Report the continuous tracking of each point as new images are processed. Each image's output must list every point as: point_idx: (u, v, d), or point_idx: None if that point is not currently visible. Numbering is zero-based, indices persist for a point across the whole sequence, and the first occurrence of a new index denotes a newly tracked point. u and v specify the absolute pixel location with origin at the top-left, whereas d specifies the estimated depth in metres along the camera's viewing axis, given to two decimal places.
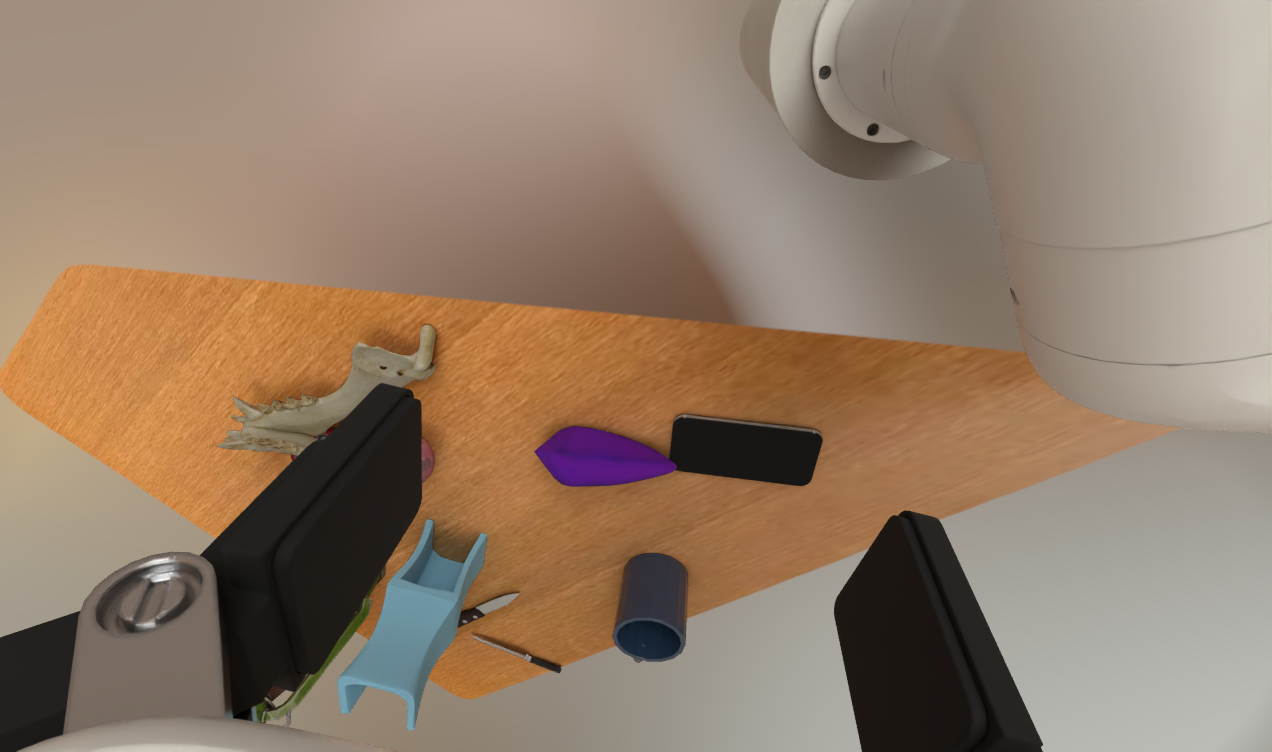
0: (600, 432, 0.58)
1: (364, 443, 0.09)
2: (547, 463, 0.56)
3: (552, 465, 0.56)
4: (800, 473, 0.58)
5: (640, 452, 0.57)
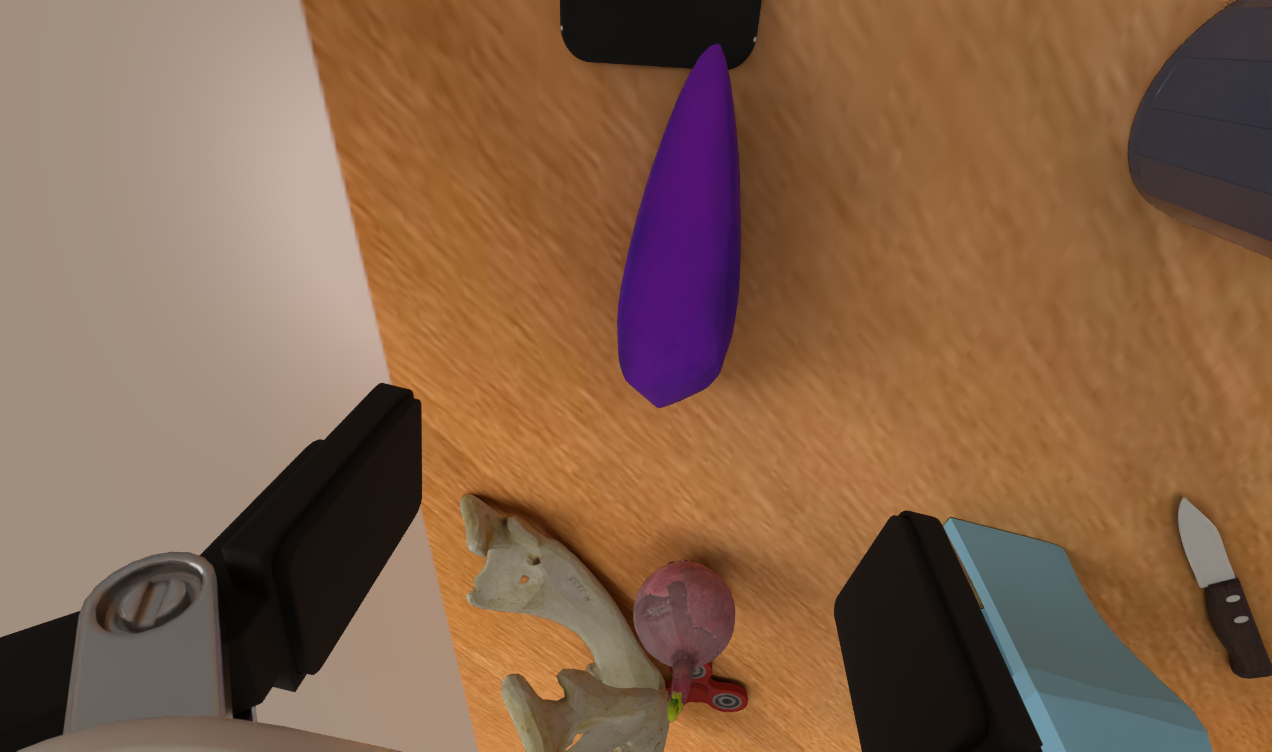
0: None
1: (364, 443, 0.09)
2: (663, 394, 0.24)
3: (663, 387, 0.24)
4: None
5: None
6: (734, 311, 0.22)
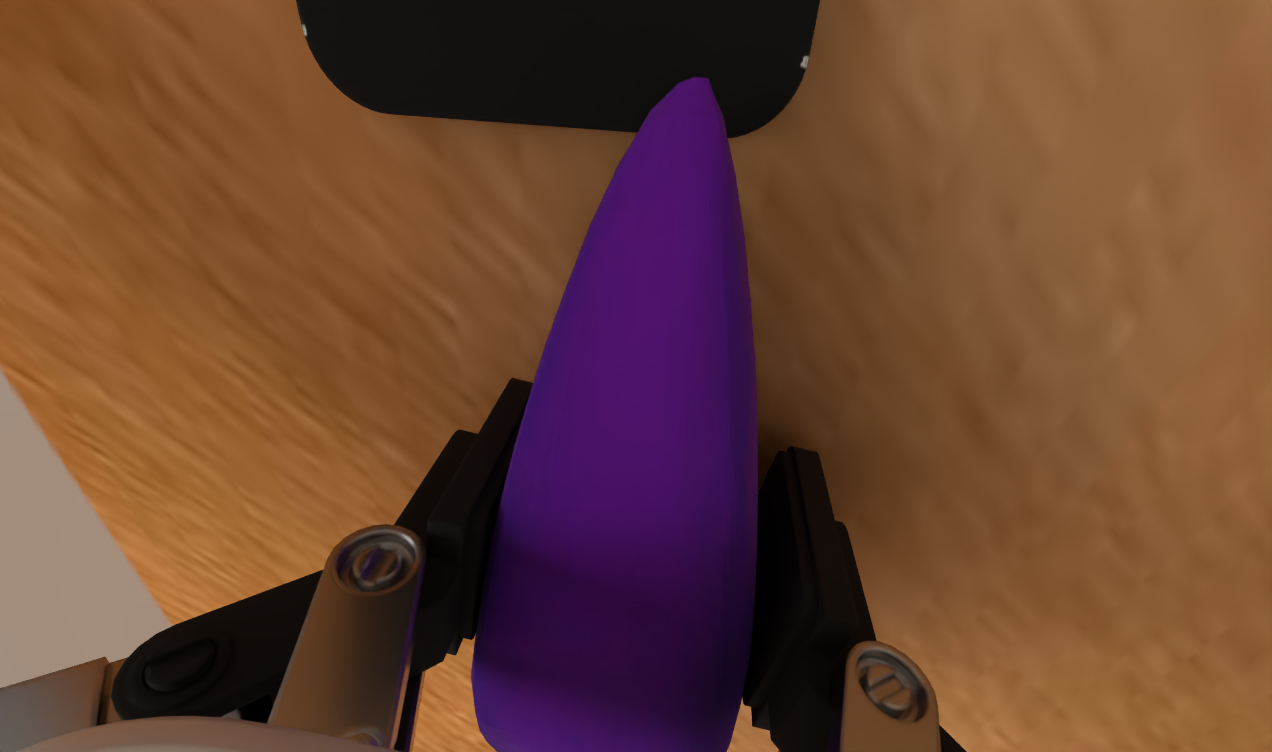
0: None
1: (514, 432, 0.10)
2: None
3: None
4: None
5: None
6: (739, 699, 0.09)
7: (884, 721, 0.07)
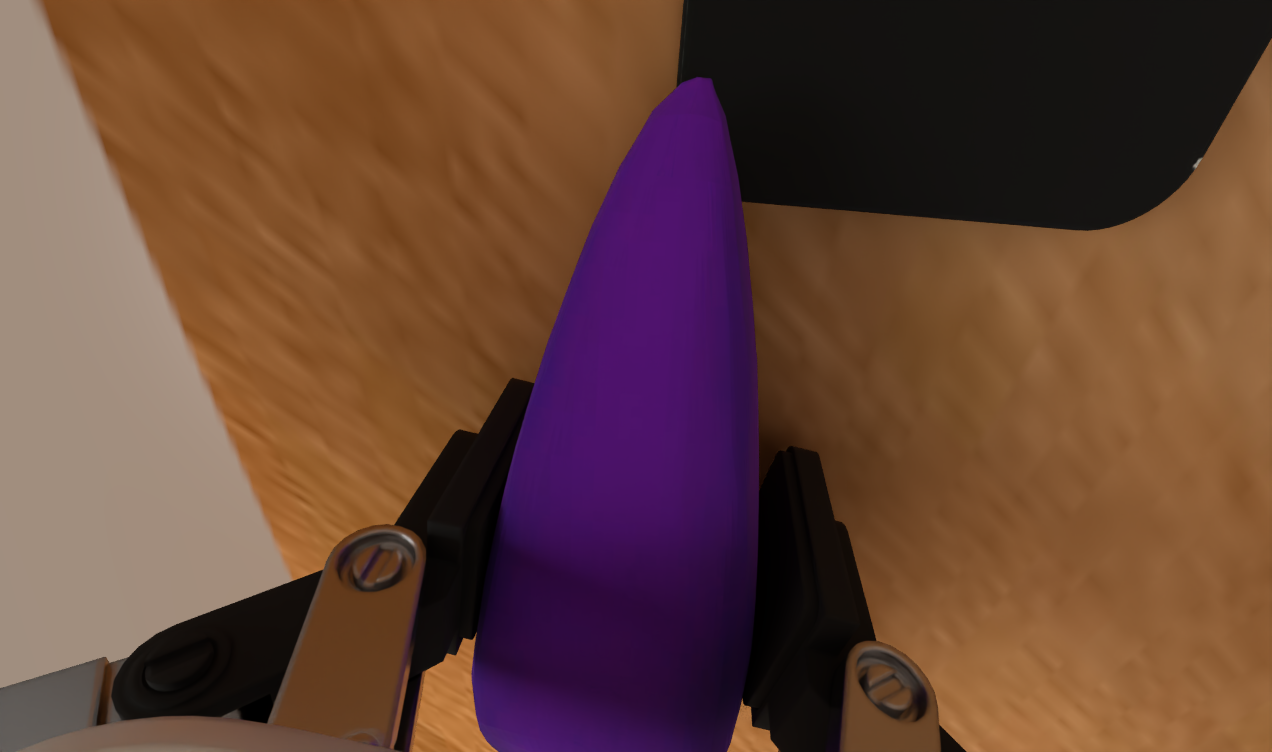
0: None
1: (514, 432, 0.10)
2: None
3: None
4: None
5: None
6: (739, 699, 0.09)
7: (884, 721, 0.07)
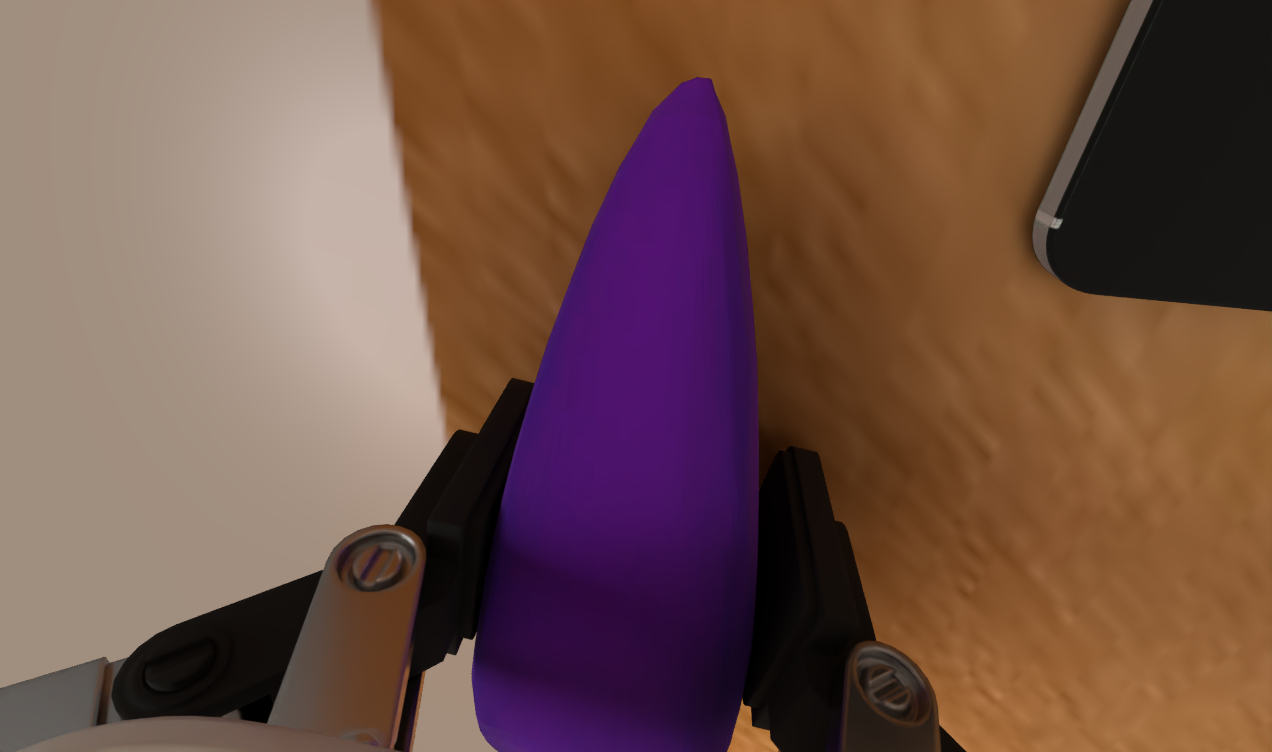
0: None
1: (514, 432, 0.10)
2: None
3: None
4: None
5: None
6: (739, 700, 0.09)
7: (884, 721, 0.07)
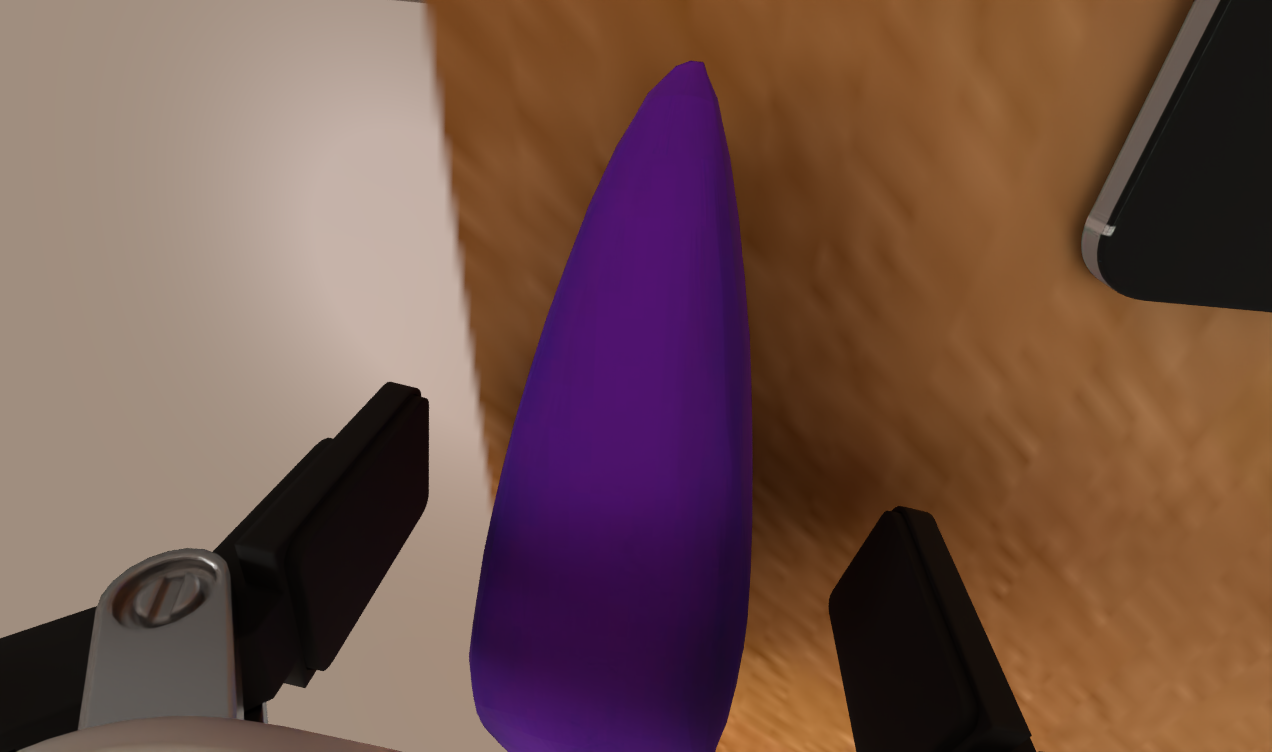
0: None
1: (373, 441, 0.09)
2: None
3: None
4: None
5: None
6: (735, 677, 0.09)
7: None
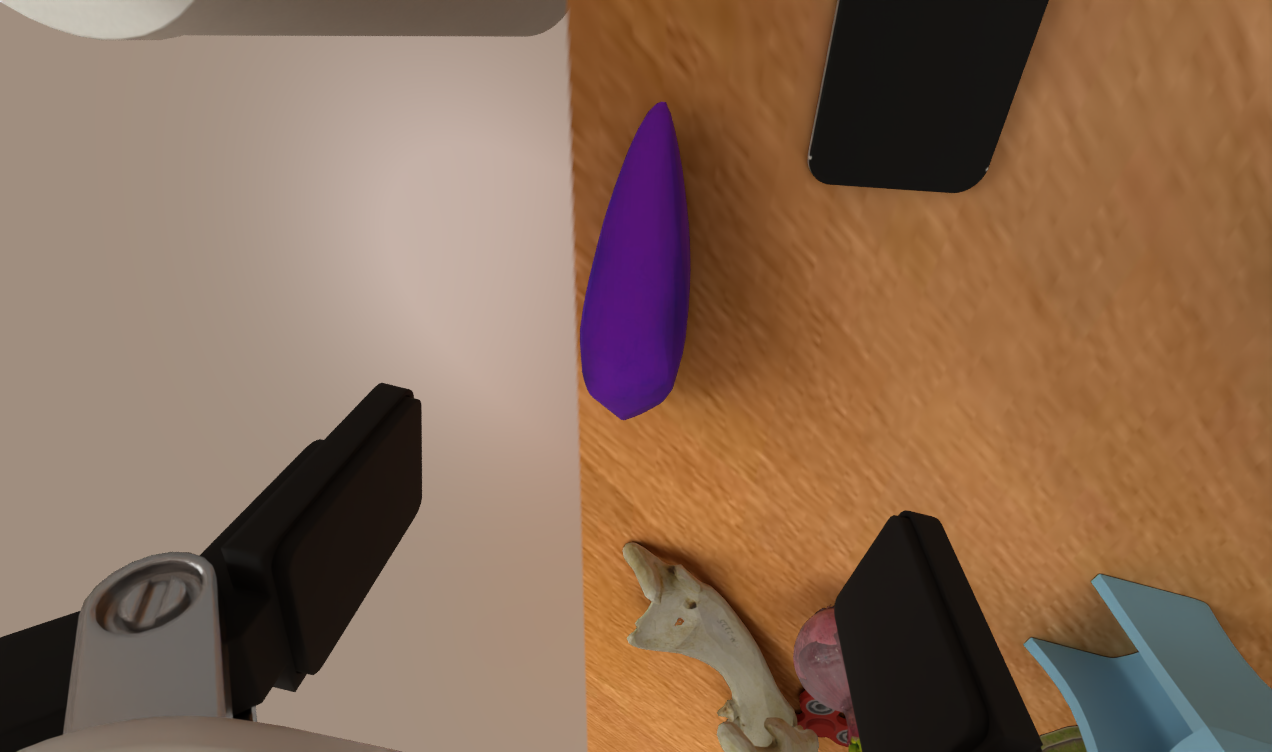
0: None
1: (364, 443, 0.09)
2: (623, 406, 0.27)
3: (622, 400, 0.26)
4: None
5: None
6: (683, 332, 0.24)
7: None
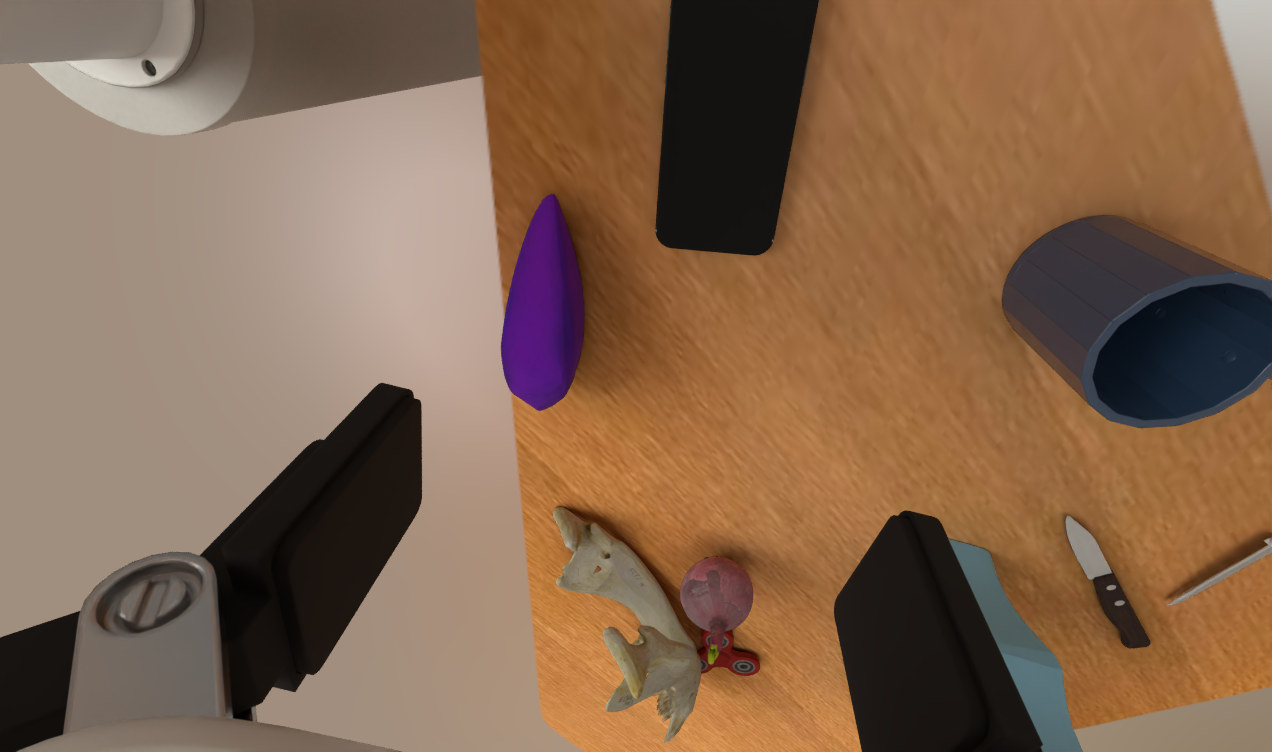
0: None
1: (364, 443, 0.09)
2: (535, 400, 0.37)
3: (533, 396, 0.37)
4: None
5: None
6: (572, 349, 0.35)
7: None
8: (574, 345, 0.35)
